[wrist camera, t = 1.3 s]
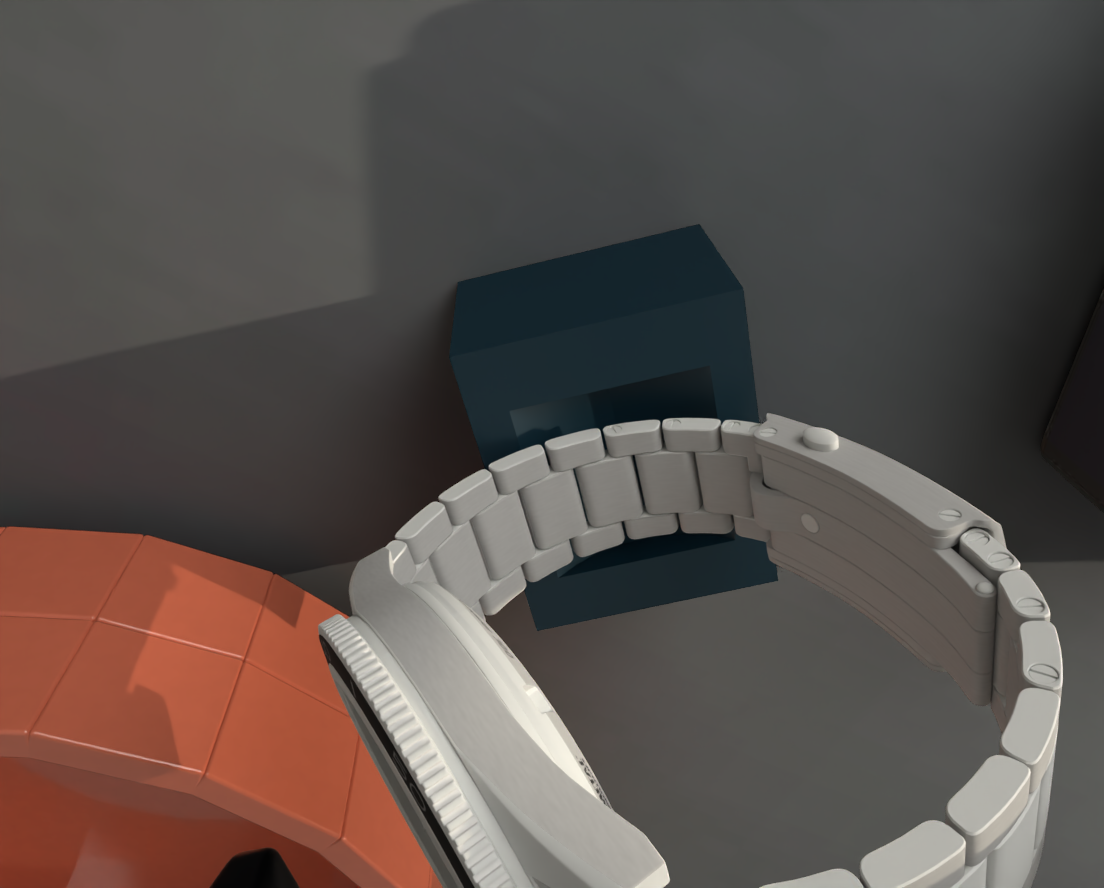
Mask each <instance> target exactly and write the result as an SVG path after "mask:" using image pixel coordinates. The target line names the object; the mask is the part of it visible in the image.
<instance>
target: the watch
mask: <svg viewBox="0 0 1104 888" xmlns="http://www.w3.org/2000/svg"><path fill="white" fill-rule="evenodd" d="M449 358H450V361H451V364H452V368H453V371H454V374H455V377H456V380H457V383H458V386H459V389H460V392H461V395H462V399H463V402H464V405H465V408H466V411H467V414H468V417H469V420H470V423H471V427H472V430H473V433H474V436H475V439H476V442H477V445H478V448H479V451H480V454H481V458H482V461H483V464H484V467H485V469H482V470H480V471H478V472H476V473H474V474H472V475H470V476H469V477H467V478H465V479H463V480H462V481H460V482H458V483H457V484H455V485H454V486H452V487H451V488H449V489H448V490H446V491H445V492H443V493H442V494H441V495H439V497H438V499H439V502H440V503H439V502H432V503H430V504H429V505H427V506H426V507H425V508H424V509H422V510H421V511H420V512H419V513H417V514H416V515H415V516H414V517H413V518H412V519H411V520H409V521H408V522H407V523H406V524H405V525H404V526H403V527H402V528H401V529H400V530H399V531H398V532H397V533H396V535H395V539H396V540H394V541H391V542H390V543H389V544H388V545H387V546H386V547H383V548H381V549H380V550H378V551H376V552H374V553H372V554H371V555H369V556H367V557H365V558H363V559H361V560H360V561H359V562H358V564H357V565H356V567H355V569H354V571H353V574H352V576H351V580H350V585H349V597H350V603H351V608H352V615H353V616H351V617H349V618H348V619H345V618H344V617H343V616H341V615H340V614H336V615H334V616H333V617H331V618H329V619H327V620H326V621H324V622H322V623H320V624H319V625H318V632H319V640H320V643H321V646H322V649H323V652H324V655H325V657H326V660H327V663H328V666H329V670H330V673H331V675H332V678H333V680H334V683H335V685H336V688H337V690H338V692H339V695H340V697H341V699H342V701H343V703H344V705H345V707H346V709H347V711H348V713H349V715H350V717H351V719H352V721H353V723H354V725H355V727H356V729H357V731H358V733H359V735H360V737H361V739H362V741H363V743H364V745H365V747H366V749H367V751H368V752H369V754H370V756H371V758H372V760H373V762H374V764H375V766H376V767H377V769H378V771H379V773H380V775H381V777H382V779H383V781H384V782H385V784H386V786H387V788H388V790H389V792H390V793H391V795H392V797H393V799H394V801H395V803H396V804H397V806H398V808H399V810H400V812H401V814H402V815H403V817H404V819H405V821H406V823H407V824H408V826H409V828H410V830H411V832H412V833H413V835H414V837H415V839H416V841H417V842H418V844H419V846H420V848H421V850H422V851H423V853H424V855H425V857H426V859H427V860H428V862H429V864H430V866H431V867H432V869H433V871H434V873H435V874H436V876H437V878H438V880H439V881H440V883H441V885H442V887H443V888H663V887H664V886H666V885H667V884H668V883H669V881H670V878H669V875H668V871H667V867H666V863H665V861H664V860H663V858H662V857H661V856H660V854H659V853H658V852H657V850H656V849H655V848H654V846H653V845H652V844H651V842H650V841H649V840H648V838H647V837H646V836H645V834H644V833H642V832H641V831H640V830H638V829H637V828H636V827H634V826H633V825H632V824H630V823H629V822H627V821H626V820H625V819H623V818H622V817H621V816H619V815H618V814H617V813H615V812H614V811H613V809H612V807H611V805H610V803H609V801H608V799H607V797H606V795H605V793H604V791H603V789H602V788H601V786H600V784H599V782H598V780H597V778H596V777H595V775H594V773H593V771H592V770H591V768H590V766H589V764H588V763H587V761H586V759H585V757H584V756H583V754H582V753H581V751H580V749H579V748H578V746H577V744H576V743H575V741H574V739H573V738H572V736H571V735H570V733H569V731H568V730H567V728H566V727H565V725H564V724H563V722H562V720H561V719H560V717H559V716H558V714H557V713H556V711H555V710H554V708H553V707H552V705H551V704H550V702H549V701H548V699H547V698H546V697H545V695H544V694H543V692H542V691H541V689H540V688H539V687H538V685H537V684H536V682H535V681H534V680H533V678H532V677H531V676H530V674H529V673H528V672H527V670H526V669H525V668H524V666H523V665H522V664H521V662H520V661H519V660H518V659H517V657H516V656H515V655H514V654H513V652H512V651H511V650H510V649H509V647H508V646H507V645H506V644H505V643H504V641H503V640H502V639H501V638H500V637H499V636H498V635H497V634H496V632H495V631H494V630H493V629H492V628H491V627H490V626H489V625H488V624H487V623H486V622H485V621H486V619H485V616H484V614H485V615H494V614H496V613H497V612H498V611H499V610H500V609H502V608H503V607H504V606H505V605H506V604H507V603H508V602H509V601H511V600H512V599H513V598H514V597H516V596H517V595H518V594H519V593H521V592H522V591H523V590H524V591H525V594H526V597H527V600H528V604H529V607H530V610H531V613H532V616H533V619H534V622H535V625H536V628H537V631H539V630H544V629H549V628H554V627H558V626H563V625H568V624H573V623H578V622H582V621H587V620H592V619H597V618H602V617H606V616H611V615H616V614H621V613H625V612H630V611H635V610H640V609H645V608H649V607H654V606H659V605H664V604H669V603H673V602H678V601H683V600H688V599H693V598H697V597H702V596H707V595H712V594H716V593H721V592H726V591H731V590H736V589H740V588H745V587H750V586H755V585H760V584H764V583H769V582H774V581H778V577H777V568H776V564H777V565H779V566H781V567H783V568H785V569H787V570H789V571H791V572H793V573H795V574H797V575H799V576H801V577H803V578H805V579H807V580H809V581H811V582H812V583H814V584H816V585H818V586H820V587H821V588H823V589H825V590H827V591H828V592H830V593H832V594H834V595H835V596H837V597H839V598H840V599H842V600H843V601H845V602H847V603H848V604H850V605H851V606H853V607H854V608H856V609H857V610H859V611H860V612H861V613H863V614H864V615H866V616H867V617H868V618H870V619H871V620H872V621H874V622H875V623H876V624H878V625H879V626H880V627H881V628H883V629H884V630H885V631H886V632H888V633H889V634H890V635H891V636H893V637H894V638H895V639H896V640H897V641H899V642H900V643H901V644H902V645H903V646H904V647H905V648H907V649H908V650H909V651H910V652H911V653H912V654H913V655H915V656H916V657H917V658H918V659H919V660H920V661H921V662H922V663H923V664H925V665H926V666H927V667H928V668H929V669H931V670H933V671H937V672H944V671H947V672H948V673H949V674H950V675H951V677H952V678H953V679H954V680H955V681H956V683H957V684H958V685H959V687H960V688H961V689H962V691H963V692H964V693H965V695H966V696H967V697H968V699H969V700H970V701H971V702H972V703H973V704H975V705H978V706H986V705H988V704H989V703H990V702H991V709H992V711H993V713H994V715H995V717H996V720H997V722H998V725H999V728H1000V730H1001V733H1002V736H1001V738H1000V747H999V755H995V756H992V757H989V758H988V759H987V760H985V762H984V763H983V764H982V765H981V767H980V768H979V769H978V770H977V772H976V773H975V774H974V775H973V777H972V778H971V779H970V780H969V781H968V782H967V783H966V784H965V785H964V786H963V787H962V788H961V789H960V790H959V791H958V792H957V793H956V794H955V795H954V796H953V797H952V798H951V799H950V800H949V801H948V803H947V805H946V810H945V824H944V823H942V822H940V821H936V820H931V821H926V822H923V823H922V824H920V825H918V826H917V827H915V828H914V829H912V830H911V831H909V832H908V833H906V834H904V835H903V836H901V837H900V838H898V839H896V840H894V841H893V842H891V843H889V844H887V845H885V846H883V847H881V848H879V849H877V850H875V851H873V852H871V853H869V854H867V855H866V856H865V857H864V858H862V860H861V862H860V866H859V870H860V881H859V879H858V878H857V877H856V876H855V875H854V874H852V873H851V872H849V871H847V870H844V869H832V870H828V871H825V872H821V873H818V874H814V875H811V876H807V877H803V878H799V879H795V880H790V881H785V882H780V883H775V884H769V885H764V886H762V887H760V888H1031V885H1032V883H1033V881H1034V878H1035V875H1036V872H1037V869H1038V866H1039V862H1040V859H1041V854H1042V849H1043V845H1044V839H1045V831H1046V822H1047V814H1048V808H1049V800H1050V792H1051V783H1052V774H1053V766H1054V757H1055V748H1056V740H1057V731H1058V718H1059V710H1060V700H1061V692H1062V682H1063V667H1062V656H1061V648H1060V644H1059V639H1058V635H1057V631H1056V628H1055V627H1054V625H1053V624H1052V623H1051V622H1050V610H1049V608H1048V605H1047V603H1046V601H1045V599H1044V597H1043V595H1042V593H1041V592H1040V590H1039V589H1038V587H1037V586H1036V584H1035V583H1034V581H1033V580H1032V579H1031V577H1030V576H1029V575H1028V574H1027V573H1026V572H1025V571H1023V570H1020V563H1019V561H1018V560H1017V559H1016V558H1015V556H1014V555H1013V554H1011V553H1010V552H1009V551H1008V550H1007V548H1006V543H1005V539H1004V535H1003V531H1002V527H1001V525H1000V524H999V523H997V522H996V521H995V520H993V519H992V518H990V517H989V516H987V515H986V514H984V513H983V512H982V511H980V510H979V509H977V508H976V507H974V506H973V505H971V504H969V503H968V502H966V501H965V500H963V499H962V498H960V497H959V496H957V495H955V494H954V493H952V492H950V491H949V490H947V489H946V488H944V487H942V486H940V485H939V484H937V483H935V482H934V481H932V480H930V479H928V478H927V477H925V476H923V475H921V474H919V473H918V472H916V471H914V470H912V469H910V468H908V467H906V466H904V465H903V464H901V463H899V462H897V461H895V460H893V459H891V458H889V457H887V456H885V455H883V454H881V453H878V452H876V451H874V450H872V449H869V448H867V447H865V446H863V445H860V444H858V443H855V442H853V441H850V440H848V439H845V438H843V437H840V436H837V435H836V434H835V433H834V432H832V431H830V430H827V429H824V428H817V427H813V426H810V425H807V424H804V423H801V422H798V421H794V420H791V419H788V418H785V417H781V416H778V415H774V414H771V413H767V414H766V422H764V423H763V424H760V423H759V417H758V408H757V400H756V392H755V383H754V375H753V366H752V358H751V350H750V341H749V333H748V324H747V316H746V307H745V299H744V291H743V288H742V286H741V285H740V283H739V282H738V280H737V279H736V277H735V276H734V274H733V273H732V271H731V270H730V269H729V267H728V266H727V264H726V263H725V261H724V260H723V258H722V257H721V255H720V254H719V252H718V251H717V249H716V248H715V247H714V245H713V244H712V242H711V241H710V239H709V238H708V236H707V235H706V233H705V232H704V230H703V229H702V227H701V226H700V225H699V224H698V225H694V226H690V227H686V228H682V229H678V230H673V231H669V232H665V233H661V234H657V235H652V236H648V237H644V238H640V239H636V240H632V241H627V242H623V243H619V244H615V245H611V246H607V247H602V248H598V249H594V250H590V251H586V252H582V253H577V254H573V255H569V256H565V257H561V258H557V259H552V260H548V261H544V262H540V263H536V264H532V265H527V266H523V267H519V268H515V269H511V270H507V271H502V272H498V273H494V274H490V275H486V276H481V277H477V278H473V279H469V280H465V281H461V282H458V287H457V295H456V304H455V312H454V321H453V329H452V338H451V346H450V355H449Z"/></svg>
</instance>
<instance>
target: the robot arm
mask: <svg viewBox="0 0 1104 888" xmlns="http://www.w3.org/2000/svg"><path fill="white" fill-rule="evenodd" d="M209 888H300V887H299V885H298V884H297V882H296V880H295V879H294V877H293V875H292V874H291V872H290V870H289V869H288V867H287V865H286V864H285V862H284V860H283V858H282V857H281V855H280V854H279V852H278V851H277V850H276V849H274V848H272V847H266V848H260V849H254V850H248V851H243V852H240V853H237V854H236V855H234V856H233V857H232V858H231V859H230V860H229V861H228V862H227V863H226V865H225V866H224V868H223V869H222V870H221V872H220V873H219V874H218V876H217V877H216V879H215V880H214V881H213V883H212V884H211V886H210V887H209Z"/></svg>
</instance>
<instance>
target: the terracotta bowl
mask: <svg viewBox="0 0 1104 888" xmlns="http://www.w3.org/2000/svg"><path fill="white" fill-rule="evenodd" d="M336 614H340V615H341V616H343V617H344V618H345V619H348V618H349V616H348V615H346V614H344V613H342V612H341V611H339V610H337V609H336V608H334V607H332V606H331V605H329V604H327V603H325V602H324V601H322V600H320V599H319V598H317V597H315V596H314V595H312V594H310V593H308V592H307V591H305V590H303V589H302V588H300V587H298V586H297V585H295V584H293V583H292V582H290V581H288V580H286V579H285V578H283V577H281V576H280V575H278V574H274V575H273V572H271V571H268V570H264V569H261V568H258V567H254V566H251V565H248V564H244V563H241V562H238V561H234V560H231V559H228V558H224V557H221V556H217V555H214V554H211V553H207V552H204V551H201V550H197V549H194V548H191V547H187V546H184V545H181V544H177V543H174V542H171V541H167V540H164V539H160V538H157V537H154V536H150V535H145V536H144V535H142V534H135V533H118V532H101V531H84V530H67V529H50V528H33V527H16V526H9V527H6V528H5V527H0V888H209V887H210V886H211V884H212V883H213V881H214V880H215V879H216V877H217V876H218V874H219V873H220V872H221V870H222V869H223V868H224V866H225V865H226V863H227V862H228V861H229V860H230V859H231V858H232V857H233V856H234V855H236V854H237V853H240V852H243V851H248V850H254V849H260V848H266V847H272V848H274V849H276V850H277V851H278V852H279V854H280V855H281V857H282V858H283V860H284V862H285V864H286V865H287V867H288V869H289V870H290V872H291V874H292V875H293V877H294V879H295V880H296V882H297V884H298V885H299V887H300V888H443V887H442V885H441V883H440V881H439V880H438V878H437V876H436V874H435V873H434V871H433V869H432V867H431V866H430V864H429V862H428V860H427V859H426V857H425V855H424V853H423V851H422V850H421V848H420V846H419V844H418V842H417V841H416V839H415V837H414V835H413V833H412V832H411V830H410V828H409V826H408V824H407V823H406V821H405V819H404V817H403V815H402V814H401V812H400V810H399V808H398V806H397V804H396V803H395V801H394V799H393V797H392V795H391V793H390V792H389V790H388V788H387V786H386V784H385V782H384V781H383V779H382V777H381V775H380V773H379V771H378V769H377V767H376V766H375V764H374V762H373V760H372V758H371V756H370V754H369V752H368V751H367V749H366V747H365V745H364V743H363V741H362V739H361V737H360V735H359V733H358V731H357V729H356V727H355V725H354V723H353V721H352V719H351V717H350V715H349V713H348V711H347V709H346V707H345V705H344V703H343V701H342V699H341V697H340V695H339V692H338V690H337V688H336V685H335V683H334V680H333V678H332V675H331V673H330V670H329V666H328V663H327V660H326V657H325V655H324V652H323V649H322V646H321V643H320V640H319V632H318V625H319V624H320V623H322V622H324V621H326V620H327V619H329V618H331V617H333V616H334V615H336Z"/></svg>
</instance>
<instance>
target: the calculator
mask: <svg viewBox="0 0 1104 888" xmlns="http://www.w3.org/2000/svg"><path fill="white" fill-rule="evenodd" d="M1040 452H1041V455H1042V457H1043V458H1044V459H1045V461H1046V462H1047V463H1049V464H1050V465H1051V466H1052V467H1053V468H1054V469H1055V470H1056V471H1057V472H1058V473H1060V474H1061V475H1062V476H1063V477H1064V478H1065V479H1066V480H1067V481H1068V482H1069V483H1071V484H1072V485H1073V486H1074V487H1075V488H1076V489H1077V490H1078V491H1080V492H1081V493H1082V494H1083V495H1084V496H1085V497H1086V498H1087V499H1089V500H1090V501H1091V502H1092V503H1093V504H1094V505H1095V506H1096V507H1098V508H1099V509H1100V510H1101V511H1102V512H1103V513H1104V288H1103V291H1102V293H1101V296H1100V298H1099V301H1098V303H1097V306H1096V308H1095V311H1094V313H1093V315H1092V318H1091V320H1090V323H1089V325H1088V328H1087V330H1086V333H1085V335H1084V338H1083V340H1082V343H1081V345H1080V348H1079V350H1078V352H1077V355H1076V357H1075V360H1074V362H1073V365H1072V367H1071V370H1070V372H1069V375H1068V377H1067V380H1066V382H1065V385H1064V387H1063V390H1062V392H1061V394H1060V397H1059V399H1058V402H1057V404H1056V407H1055V409H1054V412H1053V414H1052V417H1051V419H1050V422H1049V424H1048V427H1047V429H1046V431H1045V434H1044V436H1043V440H1042V443H1041V447H1040Z"/></svg>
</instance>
